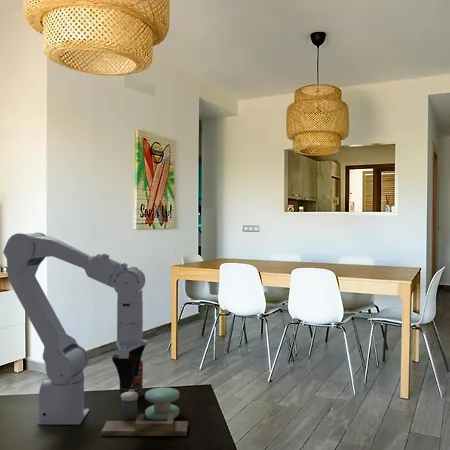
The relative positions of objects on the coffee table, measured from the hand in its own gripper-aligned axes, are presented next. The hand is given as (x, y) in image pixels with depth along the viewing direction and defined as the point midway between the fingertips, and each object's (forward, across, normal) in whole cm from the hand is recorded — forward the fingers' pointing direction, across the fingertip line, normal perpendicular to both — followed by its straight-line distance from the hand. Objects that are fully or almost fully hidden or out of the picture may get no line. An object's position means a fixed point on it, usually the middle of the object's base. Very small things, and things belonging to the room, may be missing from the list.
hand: (129, 381), depth 107 cm
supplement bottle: (+9, +16, +2) cm, 18 cm away
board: (+9, -5, -4) cm, 11 cm away
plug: (+9, 0, 0) cm, 9 cm away
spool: (+9, +4, -7) cm, 12 cm away
